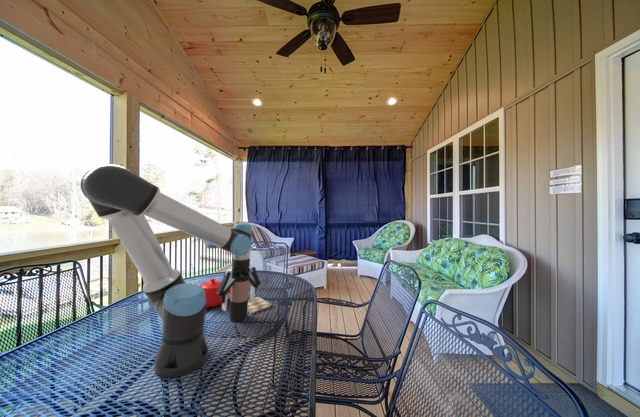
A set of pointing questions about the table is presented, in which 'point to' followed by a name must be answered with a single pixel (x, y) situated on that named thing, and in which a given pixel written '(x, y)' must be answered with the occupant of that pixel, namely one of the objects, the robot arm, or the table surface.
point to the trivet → (257, 305)
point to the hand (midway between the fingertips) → (238, 305)
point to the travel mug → (239, 298)
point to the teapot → (212, 293)
